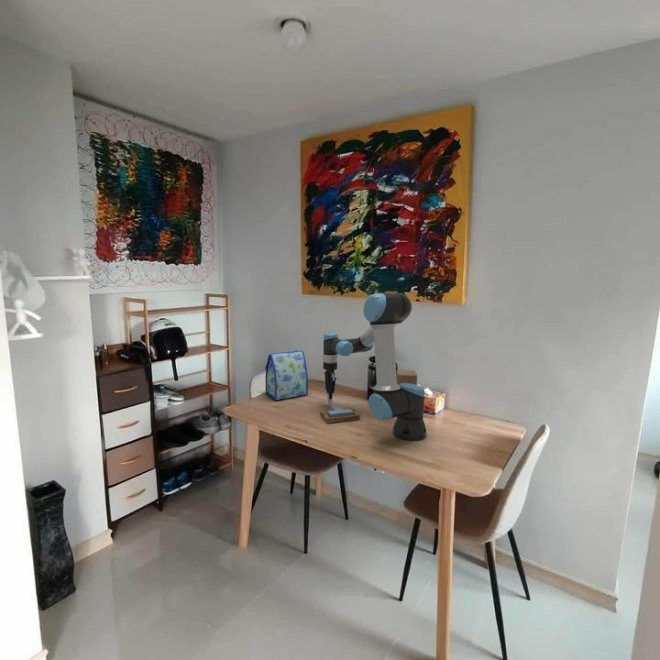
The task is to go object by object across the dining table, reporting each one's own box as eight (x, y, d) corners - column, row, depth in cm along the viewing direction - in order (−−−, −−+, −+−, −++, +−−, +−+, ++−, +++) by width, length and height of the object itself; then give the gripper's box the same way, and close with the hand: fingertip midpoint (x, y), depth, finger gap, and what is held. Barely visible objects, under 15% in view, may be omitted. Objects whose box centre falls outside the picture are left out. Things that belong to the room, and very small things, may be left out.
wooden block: (413, 405, 215) (415, 370, 212) (415, 411, 205) (417, 375, 202) (395, 404, 216) (396, 369, 213) (396, 410, 206) (398, 374, 203)
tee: (352, 418, 195) (353, 411, 195) (330, 420, 191) (330, 414, 191) (344, 409, 206) (344, 403, 206) (323, 412, 203) (323, 405, 202)
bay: (359, 420, 193) (359, 415, 192) (327, 424, 187) (327, 419, 187) (350, 411, 204) (351, 407, 203) (320, 415, 198) (320, 410, 198)
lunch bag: (295, 388, 241) (295, 347, 237) (309, 395, 228) (310, 352, 224) (263, 394, 229) (262, 351, 225) (275, 402, 216) (275, 357, 211)
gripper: (341, 364, 201) (340, 407, 205) (332, 358, 213) (332, 399, 217) (327, 365, 199) (326, 408, 202) (319, 359, 211) (319, 400, 215)
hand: (329, 404), depth 210 cm, fingers closed
